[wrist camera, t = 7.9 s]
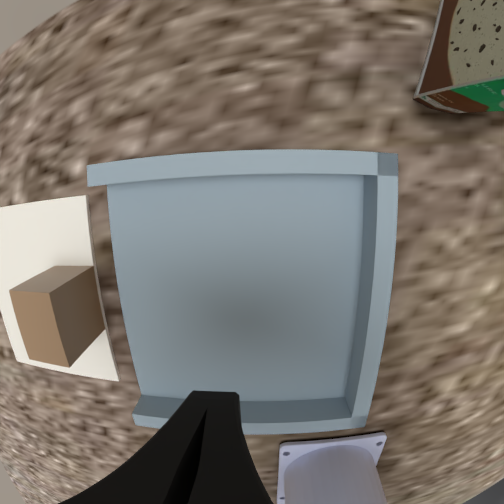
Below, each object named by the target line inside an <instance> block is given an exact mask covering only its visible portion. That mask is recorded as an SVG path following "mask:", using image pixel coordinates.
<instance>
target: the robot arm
mask: <svg viewBox="0 0 504 504" xmlns="http://www.w3.org/2000/svg"><path fill="white" fill-rule="evenodd" d="M386 439H387V436H386V434H385V433H384V432H380V433H374V434H367V435H360V436H353V437H345V438H336V439H327V440H315V441H301V442H285V443H282V444H281V445H280V448H279V469H278V487H277V504H388V503H387V500H386V497H385V494H384V490H383V487H382V484H381V481H380V478H379V475H378V472H377V469H376V465H377V462H378V460H379V457H380V455H381V452H382V450H383V447H384V444H385V441H386ZM58 504H273V502H272V501H271V499H270V497H269V495H268V493H267V491H266V490H265V488H264V486H263V484H262V482H261V479H260V477H259V475H258V473H257V471H256V468H255V466H254V463H253V461H252V458H251V456H250V453H249V450H248V447H247V444H246V440H245V437H244V434H243V430H242V422H241V410H240V397H239V394H237V393H236V392H221V391H196V390H193V391H192V392H191V393H190V394H189V395H188V396H187V398H186V399H185V400H184V401H183V403H182V404H181V405H180V406H179V408H178V409H177V410H176V411H175V413H174V414H173V415H172V416H171V417H170V418H169V420H168V421H167V422H166V423H165V424H164V425H163V426H162V427H161V428H160V429H159V430H158V432H157V433H156V434H155V435H154V436H153V437H152V438H151V439H150V440H149V441H148V442H147V443H146V444H145V445H144V446H143V447H142V448H140V449H139V450H138V451H137V452H136V453H135V454H134V455H133V456H132V457H131V458H130V459H128V460H127V461H126V462H125V463H124V464H122V465H121V466H120V467H119V468H117V469H116V470H115V471H113V472H112V473H111V474H109V475H108V476H106V477H105V478H104V479H102V480H100V481H99V482H97V483H96V484H94V485H93V486H91V487H89V488H88V489H86V490H84V491H83V492H81V493H79V494H77V495H75V496H73V497H72V498H69V499H67V500H65V501H63V502H61V503H58Z"/></svg>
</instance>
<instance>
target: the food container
mask: <svg viewBox="0 0 504 504" xmlns="http://www.w3.org/2000/svg"><path fill="white" fill-rule="evenodd" d="M413 99H414V100H416V101H418V102H419V103H421V104H423V105H425V106H427V107H429V108H431V109H435V110H439V111H443V112H447V113H450V114H455V113H468V112H487V111H504V0H441V1H440V5H439V9H438V14H437V18H436V22H435V26H434V30H433V33H432V37H431V41H430V44H429V48H428V52H427V55H426V59H425V62H424V65H423V69H422V72H421V75H420V78H419V82H418V85H417V88H416V91H415V94H414V97H413Z"/></svg>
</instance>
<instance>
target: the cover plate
mask: <svg viewBox="0 0 504 504" xmlns="http://www.w3.org/2000/svg"><path fill="white" fill-rule="evenodd" d="M0 310H1V313H2V317H3V320H4V324H5V327H6V330H7V333H8V336H9V339H10V342H11V345H12V348H13V351H14V354H15V356H16V359H17V361H18V362H22V363H26V364H30V365H34V366H38V367H43V368H47V369H52V370H56V371H61V372H66V373H71V374H76V375H82V376H87V377H93V378H99V379H106V380H113V381H120V379H121V378H120V374H119V371H118V367H117V363H116V359H115V356H114V352H113V348H112V344H111V340H110V335H109V331H108V326H107V322H106V317H105V312H104V307H103V302H102V297H101V292H100V286H99V280H98V274H97V268H96V261H95V254H94V246H93V238H92V229H91V220H90V209H89V196H88V195H83V196H74V197H66V198H59V199H51V200H44V201H37V202H30V203H24V204H17V205H11V206H5V207H0Z"/></svg>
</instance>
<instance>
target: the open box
mask: <svg viewBox="0 0 504 504" xmlns="http://www.w3.org/2000/svg"><path fill="white" fill-rule="evenodd" d="M87 180H88V187H89V186H98V185H107V194H108V207H109V219H110V229H111V239H112V247H113V255H114V263H115V270H116V277H117V283H118V289H119V295H120V301H121V307H122V312H123V317H124V323H125V328H126V332H127V337H128V342H129V346H130V351H131V355H132V359H133V363H134V367H135V371H136V375H137V379H138V383H139V387H140V390H141V394H142V395H141V397H140V399H139V401H138V403H137V405H136V407H135V409H134V411H133V413H132V416H133V418H134V421H135V424H136V425H139V426H146V427H153V428H161V427H162V426H163V425H164V424H165V423H166V422H167V421H168V420H169V418H170V417H171V416H172V415H173V414H174V413H175V411H176V410H177V409H178V408H179V406H180V405H181V404H182V403H183V401H184V400H185V399H186V398H187V396H188V395H189V394H190V393H191V392H192V391H193V390H196V391H221V392H236V393H237V394H239V397H240V410H241V422H242V430H243V434H294V433H310V432H323V431H334V430H343V429H351V428H359V427H365V424H366V420H367V417H368V413H369V409H370V405H371V401H372V397H373V392H374V388H375V384H376V379H377V374H378V370H379V365H380V360H381V354H382V349H383V343H384V337H385V331H386V325H387V319H388V312H389V304H390V297H391V288H392V280H393V270H394V259H395V246H396V231H397V208H398V154H393V153H380V152H364V151H343V150H240V151H219V152H202V153H189V154H176V155H166V156H155V157H146V158H137V159H129V160H121V161H114V162H107V163H100V164H93V165H87Z"/></svg>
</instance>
